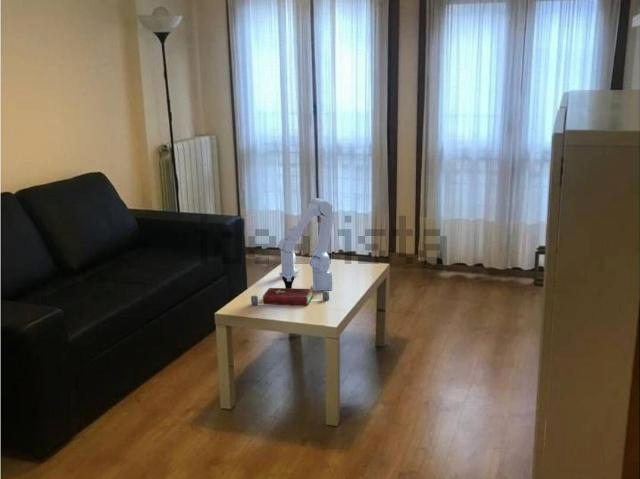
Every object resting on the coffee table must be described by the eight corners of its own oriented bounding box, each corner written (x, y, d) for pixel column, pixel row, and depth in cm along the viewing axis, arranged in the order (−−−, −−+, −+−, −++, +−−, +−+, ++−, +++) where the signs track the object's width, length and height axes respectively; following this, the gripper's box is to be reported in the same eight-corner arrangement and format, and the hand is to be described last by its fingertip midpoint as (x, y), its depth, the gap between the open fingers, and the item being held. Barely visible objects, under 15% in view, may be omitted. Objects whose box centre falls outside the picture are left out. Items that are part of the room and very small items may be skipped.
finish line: (328, 298, 306) (328, 290, 305) (329, 300, 303) (329, 292, 302) (251, 303, 302) (250, 295, 301) (251, 306, 299) (251, 297, 298)
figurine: (301, 273, 346) (299, 246, 342) (297, 279, 337) (295, 250, 333) (287, 273, 347) (286, 245, 343) (283, 278, 338) (282, 250, 334)
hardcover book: (307, 305, 297) (307, 296, 296) (263, 304, 301) (262, 295, 300) (312, 296, 309) (312, 288, 308) (269, 295, 313) (269, 287, 312)
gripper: (278, 260, 315) (279, 287, 319) (279, 268, 301) (281, 296, 305) (292, 259, 316) (293, 286, 319) (295, 267, 302) (296, 295, 305)
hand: (288, 291), depth 312 cm, fingers closed
